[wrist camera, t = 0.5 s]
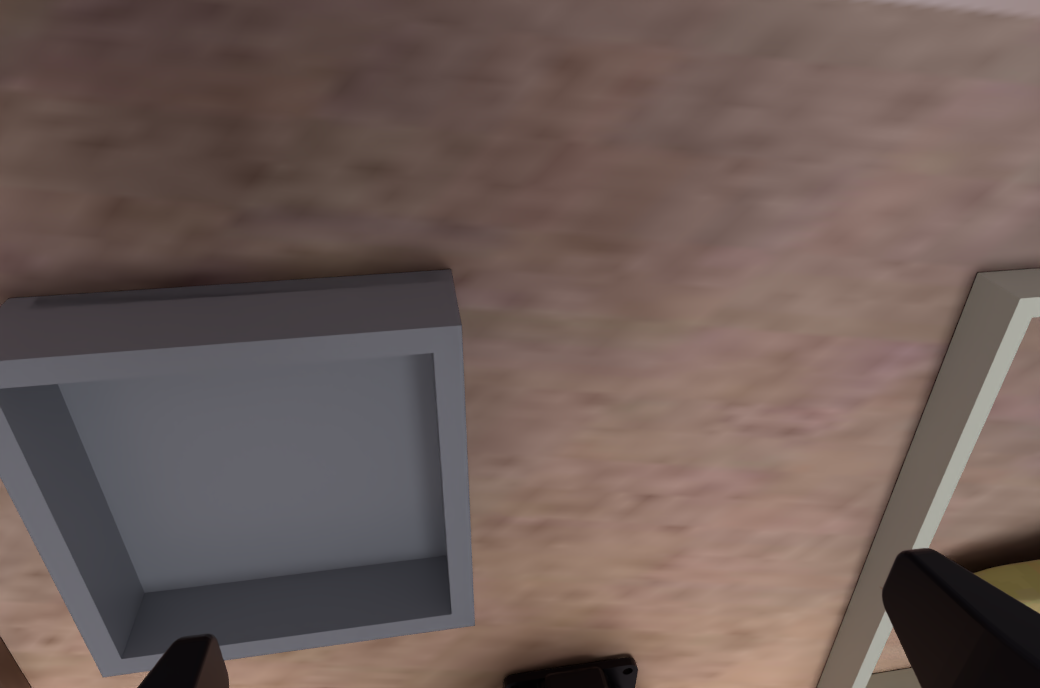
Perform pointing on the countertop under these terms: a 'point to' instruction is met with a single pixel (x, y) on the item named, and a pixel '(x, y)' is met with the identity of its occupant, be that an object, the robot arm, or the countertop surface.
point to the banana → (1016, 581)
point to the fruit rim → (935, 464)
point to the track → (10, 670)
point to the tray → (243, 461)
